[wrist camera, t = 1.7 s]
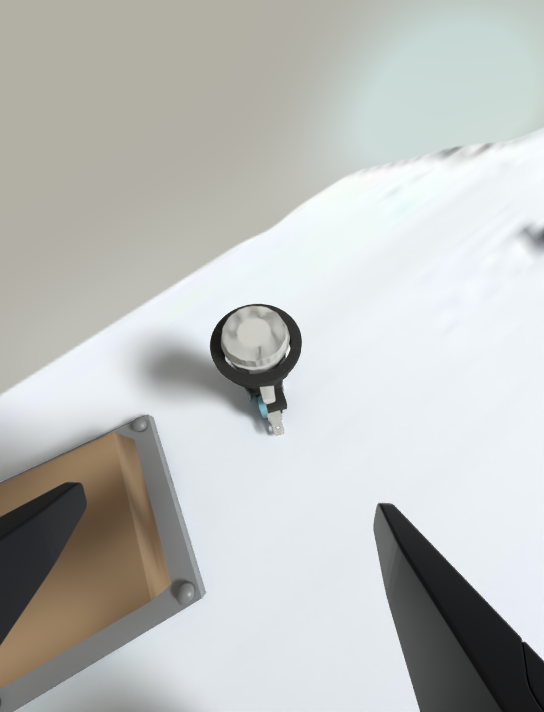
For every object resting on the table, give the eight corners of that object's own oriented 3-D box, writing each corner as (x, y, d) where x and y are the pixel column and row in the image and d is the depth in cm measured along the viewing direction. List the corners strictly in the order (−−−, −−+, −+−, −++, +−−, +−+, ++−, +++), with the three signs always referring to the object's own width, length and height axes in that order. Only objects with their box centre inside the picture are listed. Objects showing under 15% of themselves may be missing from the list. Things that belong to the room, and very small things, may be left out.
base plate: (205, 593, 18) (199, 601, 17) (-5, 718, 16) (-33, 741, 14) (153, 417, 23) (144, 412, 22) (-10, 493, 21) (-31, 493, 20)
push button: (309, 426, 22) (326, 383, 14) (247, 446, 22) (221, 415, 13) (284, 357, 25) (285, 284, 16) (228, 373, 25) (198, 307, 16)
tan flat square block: (171, 584, 17) (151, 601, 15) (6, 680, 16) (-52, 719, 13) (134, 439, 22) (113, 432, 19) (0, 503, 20) (-45, 505, 17)
